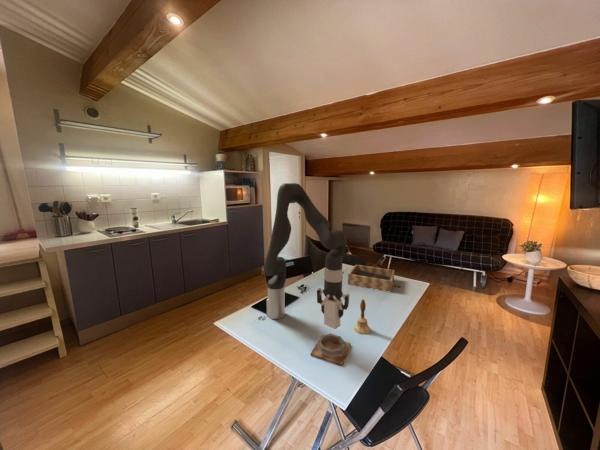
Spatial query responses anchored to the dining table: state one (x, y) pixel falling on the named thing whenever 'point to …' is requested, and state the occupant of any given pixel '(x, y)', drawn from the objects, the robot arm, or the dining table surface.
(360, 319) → the hand bell
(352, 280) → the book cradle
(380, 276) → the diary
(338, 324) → the skincare box
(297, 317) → the dining table surface
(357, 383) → the dining table surface
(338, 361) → the collar dock
